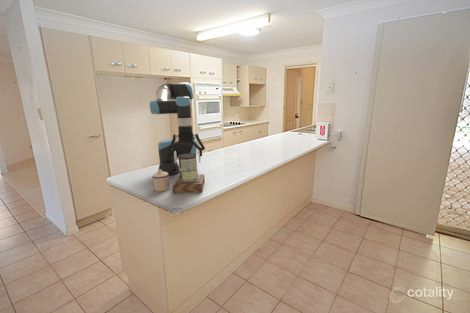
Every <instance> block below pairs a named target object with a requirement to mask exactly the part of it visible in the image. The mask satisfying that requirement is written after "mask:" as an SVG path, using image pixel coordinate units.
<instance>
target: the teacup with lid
mask: <svg viewBox="0 0 470 313" xmlns="http://www.w3.org/2000/svg"><path fill="white" fill-rule="evenodd" d="M151 177H152V181H153V190H154V191H155V192H156V193H157V192H159V193H160V192H166V191H168V190H169V189H170V188H171V186H170V179H169V178H170V175H169V174H168V173H167V172H164V171H162V170H157V171H156V172H155V173H153V174H152V176H151Z"/></svg>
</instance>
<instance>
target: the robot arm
mask: <svg viewBox="0 0 470 313" xmlns="http://www.w3.org/2000/svg"><path fill="white" fill-rule="evenodd" d="M155 94H156V98H155V100H151V101H150V102H149V110H150V114H152V115H168V114H169V115H174V114H175V115H177V125H178V126H177V128H178V134H176V133H175V134H173V135H172V138H170V139H169V138H168V139H165V140H161V141H159V142H158V144H157V145H158V148H157V149H158V160H159V166H158V170H162V171H164V172H167V173H168V174H169V175H168V176H174V175H179V174H180V169H179V162H178V156H179V155H181V154H186V153H194V154H196V155H197V154H198V163H201V161H202V160H201V157H203V151H205V149H206V147H205V145H204V144H203V142H202V140H201V139H200V136H199V133H198V132H197V133H193V121H192V120H193V118H192V108H191V107H192V106H191V103H192V100H194V93H193V87H192V84H191V83H189V82H166V83H163V84H162V85H160V86H158V87H157V89H156V92H155ZM177 138H178V139H177ZM176 139H177V140H176ZM197 150H198V152H197ZM158 170H157V171H158Z"/></svg>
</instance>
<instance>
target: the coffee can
mask: <svg viewBox="0 0 470 313" xmlns="http://www.w3.org/2000/svg"><path fill="white" fill-rule="evenodd" d="M177 160H178V165H179V169H180V172H179V175H180V180H181V181H185V182H188V181H194V180H196V179H198V175H199V173H198V164H197V163H198V162H197V153H196V154H194V153H186V154H181V155H179V156H178V158H177Z"/></svg>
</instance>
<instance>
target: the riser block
mask: <svg viewBox="0 0 470 313" xmlns="http://www.w3.org/2000/svg"><path fill="white" fill-rule="evenodd" d="M204 185H205V173H202V174H199V173H198V179H196V180H194V181H188V182H185V181H181V180H180V174H177V176H176V178H175V180H174V182H173V183H172V191H173V192H172V193H173V194H185V193H186V194H187V193H190V194H191V193H202V192H203V190H204Z"/></svg>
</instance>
